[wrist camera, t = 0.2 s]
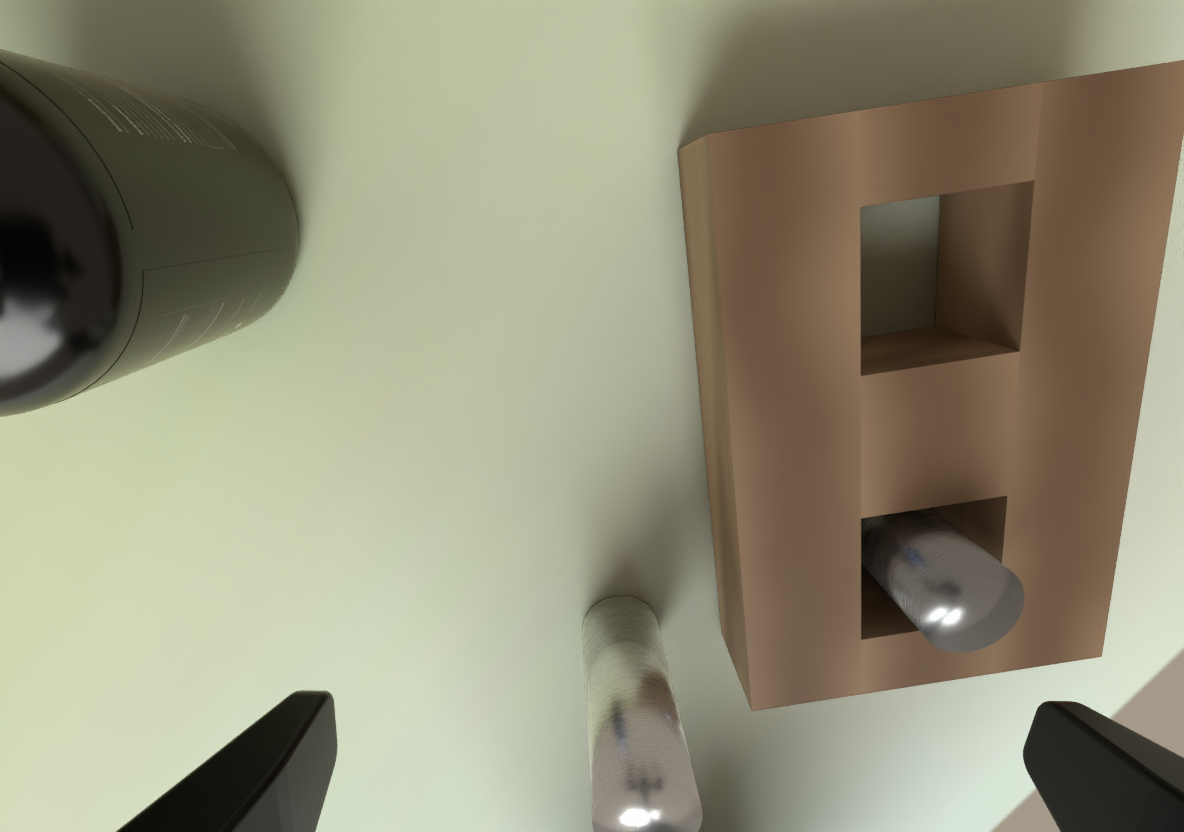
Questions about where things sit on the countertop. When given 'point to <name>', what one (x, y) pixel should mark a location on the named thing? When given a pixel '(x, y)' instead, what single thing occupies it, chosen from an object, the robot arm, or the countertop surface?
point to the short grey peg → (941, 579)
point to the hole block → (926, 366)
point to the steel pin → (634, 725)
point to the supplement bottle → (125, 230)
